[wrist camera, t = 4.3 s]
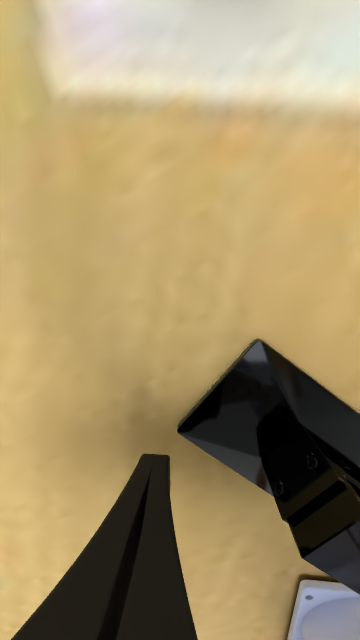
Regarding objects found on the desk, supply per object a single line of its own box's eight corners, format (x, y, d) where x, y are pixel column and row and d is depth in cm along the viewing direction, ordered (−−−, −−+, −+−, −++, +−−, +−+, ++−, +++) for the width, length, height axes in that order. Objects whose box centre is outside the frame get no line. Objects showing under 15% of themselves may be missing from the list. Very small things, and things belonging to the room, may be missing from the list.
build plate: (425, 463, 11) (593, 600, 6) (326, 529, 12) (402, 675, 8) (257, 336, 10) (317, 394, 5) (173, 429, 11) (160, 535, 7)
